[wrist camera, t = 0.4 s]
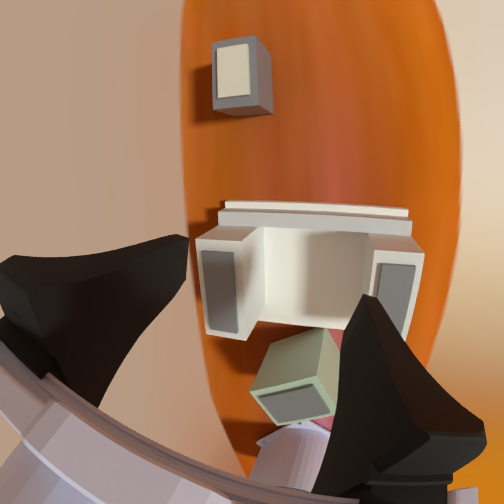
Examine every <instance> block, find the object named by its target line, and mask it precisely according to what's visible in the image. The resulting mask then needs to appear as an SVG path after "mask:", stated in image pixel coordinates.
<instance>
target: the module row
mask: <svg viewBox="0 0 504 504" xmlns="http://www.w3.org/2000/svg"><path fill="white" fill-rule="evenodd" d="M218 223H219V225H218V226H216V227H215V228H213V229H211V230H209V231H208V232H206V233H204V234H203V235H201V236H199V237H198V238H196V239H195V241H196V252H197V262H198V271H199V280H200V289H201V297H202V306H203V313H204V321H205V328H206V334H210V335H215V336H221V337H226V338H232V339H238V340H244V341H246V340H247V339H248V337H249V335H250V333H251V331H252V330H253V328H254V326H255V324H256V322H257V320H259V321H267V322H275V323H284V324H292V325H302V326H311V327H322V328H333V329H345V328H346V326H347V324H348V323H349V321H350V319H351V317H352V315H353V313H354V311H355V309H356V307H357V305H358V303H359V301H360V299H361V297H362V295H363V294H366V295H369V296H373V297H376V298H377V299H378V300H379V301H380V303H381V304H382V306H383V307H384V309H385V311H386V312H387V314H388V315H389V317H390V319H391V320H392V322H393V324H394V325H395V327H396V328H397V330H398V332H399V333H400V335H401V336H402V338H403V339H404V341H406V337H407V334H408V330H409V326H410V323H411V319H412V315H413V311H414V306H415V302H416V298H417V293H418V288H419V284H420V278H421V273H422V268H423V262H424V255H425V253H424V252H423V251H422V249H421V248H420V247H419V246H418V244H417V243H416V242H415V241H414V239H413V238H412V237H411V230H412V220H411V219H409V218H408V209H407V208H401V207H389V206H376V205H362V204H346V203H327V202H304V201H270V200H228V201H225V208H224V209H222V210H220V211H218Z"/></svg>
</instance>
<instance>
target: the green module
mask: <svg viewBox="0 0 504 504" xmlns="http://www.w3.org/2000/svg"><path fill="white" fill-rule="evenodd" d="M339 363H340V351H339V349H338V348H337V346H336V344H335V342H334V340H333V338H332V336H331V334H330V333H329V331H328V329H327V328H322V327H316V328H313V329H311V330H308V331H305V332H302V333H300V334H297V335H294V336H291V337H288V338H285V339H282V340H279V341H276V342H273V343H271V344H270V346H269V348H268V351H267V353H266V355H265V357H264V360H263V362H262V364H261V367H260V369H259V371H258V373H257V376H256V378H255V380H254V382H253V385H252V387H251V389H250V391H249V392H250V393H251V394H252V396H253V397H254V398H255V399H256V401H257V402H258V403H259V404H260V406H261V407H262V408H263V409H264V411H265V412H266V413H267V414H268V415H269V417H270V418H271V419H272V420H273V421H274V423H275V424H276V425H277V426H280V425H286V424H292V423H298V422H304V421H309V420H314V419H319V418H323V417H328V416H332V415H335V411H336V405H337V396H338V381H339Z"/></svg>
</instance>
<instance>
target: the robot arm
mask: <svg viewBox="0 0 504 504" xmlns="http://www.w3.org/2000/svg"><path fill="white" fill-rule="evenodd" d="M188 246H189V238H187V237H184V236H181V235H178V234H174V235H168V236H165V237H161V238H157V239H154V240H150V241H146V242H143V243H139V244H136V245H132V246H128V247H124V248H121V249H117V250H112V251H107V252H103V253H97V254H90V255H82V256H71V257H30V256H19V255H14V256H11V257H9V258H8V259H6V260H5V261H3V262H2V263H0V304H1V307H2V310H3V312H4V314H5V316H4V317H2V318H1V319H0V413H1V415H2V416H3V417H4V418H5V419H6V420H7V422H8V423H9V424H10V425H11V426H12V427H13V428H14V429H15V430H16V431H17V433H18V434H19V435H20V436H21V439H22V441H21V442H20V443H19V444H18V446H17V447H16V448H15V450H14V451H13V452H12V453H11V455H10V456H9V457H8V458H7V460H6V461H5V462H4V463H3V465H2V466H1V467H0V504H478V487H475V486H474V487H468V488H462V489H456V490H452V491H449V492H447V485H448V484H451V483H452V481H453V473H454V472H455V471H457V470H458V469H460V468H462V467H463V466H465V465H466V464H468V463H469V462H471V461H472V460H474V459H475V458H476V457H478V456H479V455H480V454H481V453H482V452H483V450H484V449H485V447H486V445H487V441H486V434H485V429H484V423H483V421H482V420H481V419H479V418H478V417H476V416H475V415H474V414H472V413H471V412H470V411H468V410H467V409H466V408H464V407H463V406H462V405H461V404H460V403H458V402H457V401H456V400H455V399H454V398H453V397H452V396H450V395H449V394H448V393H447V392H446V391H445V390H444V389H443V388H442V387H441V386H440V385H439V384H438V383H437V381H436V380H435V379H434V378H433V377H432V376H431V375H430V374H429V373H428V372H427V370H426V369H425V368H424V367H423V365H422V364H421V363H420V362H419V360H418V359H417V358H416V357H415V355H414V354H413V352H412V351H411V350H410V348H409V347H408V345H407V344H406V342H405V341H404V339H403V338H402V336H401V335H400V333H399V332H398V330H397V328H396V327H395V325H394V324H393V322H392V320H391V319H390V317H389V315H388V314H387V312H386V311H385V309H384V307H383V306H382V304H381V303H380V301H379V300H378V299H377V298H376V297H373V296H369V295H366V294H363V295H362V297H361V299H360V301H359V303H358V305H357V307H356V309H355V311H354V313H353V315H352V317H351V319H350V321H349V323H348V324H347V326H346V328H345V330H344V333H343V338H342V344H341V350H340V363H339V381H338V396H337V405H336V411H335V416H334V421H333V425H332V429H331V432H330V431H328V430H326V429H324V428H323V427H321V426H319V425H317V424H316V423H314V422H312V421H310V420H309V421H304V422H298V423H292V424H287V425H286V426H284V427H282V428H280V429H278V430H277V431H275V432H273V433H271V434H269V435H267V436H265V437H263V438H261V439H259V440H257V442H256V444H257V445H259V446H260V447H261V449H260V452H259V454H258V457H257V459H256V462H255V464H254V467H253V469H252V472H251V474H250V477H249V479H247V478H244V477H240V476H237V475H234V474H231V473H228V472H225V471H222V470H220V469H217V468H214V467H211V466H209V465H206V464H204V463H201V462H198V461H196V460H194V459H191V458H189V457H187V456H184V455H182V454H180V453H177V452H175V451H173V450H171V449H169V448H167V447H165V446H163V445H160V444H158V443H156V442H154V441H153V440H151V439H149V438H147V437H145V436H143V435H141V434H139V433H137V432H136V431H134V430H132V429H130V428H128V427H127V426H125V425H123V424H122V423H120V422H118V421H117V420H115V419H113V418H112V417H110V416H109V415H107V414H105V413H104V412H102V411H101V410H99V409H98V407H99V405H100V403H101V400H102V398H103V396H104V394H105V392H106V390H107V388H108V386H109V385H110V383H111V381H112V379H113V377H114V375H115V374H116V372H117V370H118V368H119V367H120V365H121V364H122V362H123V360H124V359H125V357H126V355H127V354H128V352H129V351H130V349H131V348H132V346H133V345H134V343H135V342H136V341H137V339H138V338H139V336H140V335H141V334H142V333H143V331H144V330H145V329H146V328H147V327H148V326H149V324H150V323H151V322H152V321H153V320H154V319H155V318H156V317H157V316H158V314H159V313H160V312H161V311H162V310H163V309H164V308H165V306H167V304H168V303H169V302H170V301H171V300H172V298H173V297H174V296H175V295H176V293H177V292H178V290H179V289H180V287H181V286H182V284H183V282H184V281H185V280H186V270H187V257H188ZM231 500H233V501H236V503H235V502H233V501H231Z"/></svg>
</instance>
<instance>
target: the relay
mask: <svg viewBox="0 0 504 504" xmlns="http://www.w3.org/2000/svg"><path fill="white" fill-rule="evenodd" d="M212 93H213V110H215V111H218V112H221V113H224V114H227V115H230V116H234V117H239V116H251V115H266V114H273V90H272V69H271V54H270V53H269V51H268V50H267V49H266V47H265V46H264V45H263V44H262V42H261V41H260V40H259V39H258V37H257V36H256V35H254V36H247V37H240V38H234V39H229V40H223V41H218V42H213V43H212Z"/></svg>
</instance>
